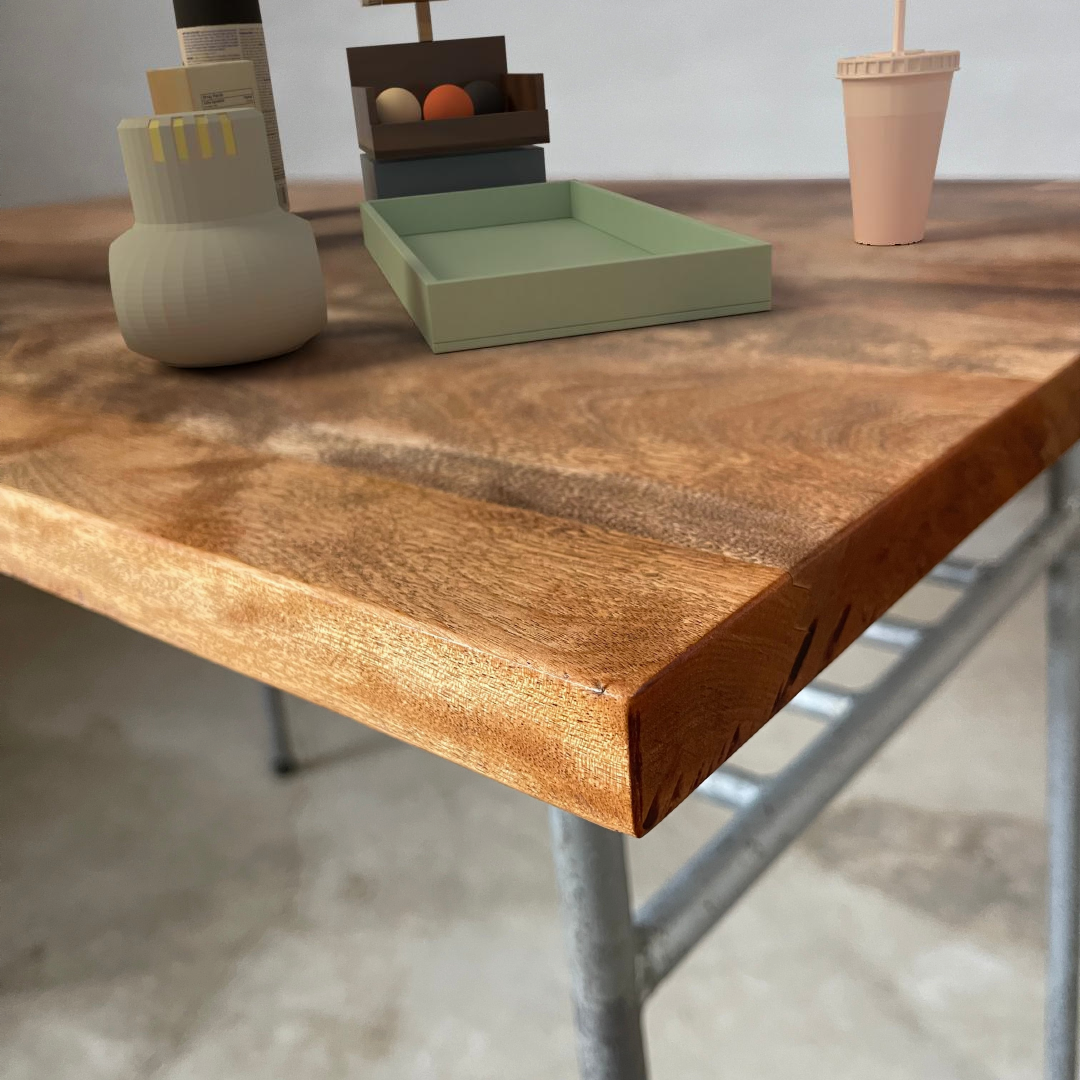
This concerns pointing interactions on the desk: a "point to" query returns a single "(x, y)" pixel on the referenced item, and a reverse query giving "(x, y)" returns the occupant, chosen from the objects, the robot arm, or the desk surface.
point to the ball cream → (397, 106)
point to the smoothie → (894, 135)
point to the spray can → (233, 57)
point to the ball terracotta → (447, 103)
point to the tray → (556, 263)
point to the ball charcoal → (485, 98)
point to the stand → (452, 171)
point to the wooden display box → (434, 67)
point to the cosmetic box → (204, 87)
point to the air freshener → (211, 245)
